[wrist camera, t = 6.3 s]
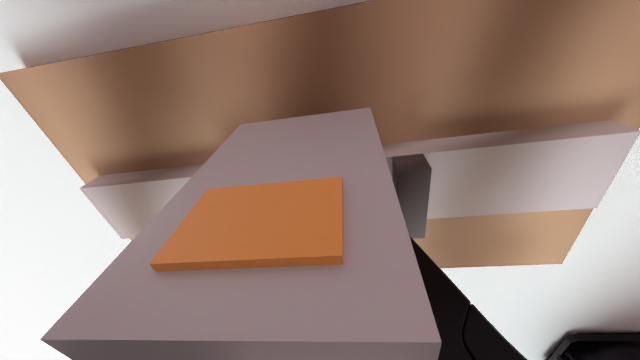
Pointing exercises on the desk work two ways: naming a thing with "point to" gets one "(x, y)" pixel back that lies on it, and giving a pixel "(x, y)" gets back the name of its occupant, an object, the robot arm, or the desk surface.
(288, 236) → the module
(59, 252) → the desk surface
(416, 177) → the rail base
